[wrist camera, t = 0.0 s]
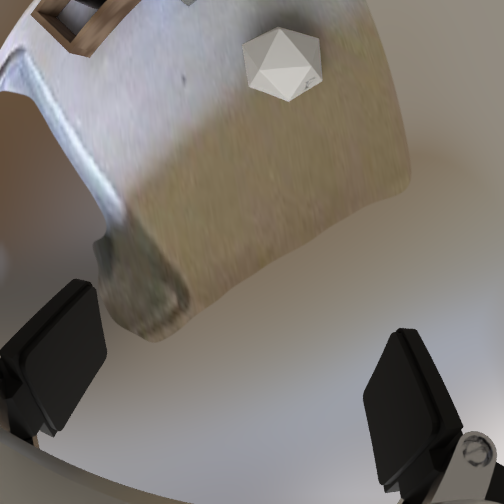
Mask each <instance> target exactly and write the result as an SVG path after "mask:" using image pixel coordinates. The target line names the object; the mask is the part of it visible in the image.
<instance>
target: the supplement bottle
mask: <svg viewBox="0 0 504 504" xmlns="http://www.w3.org/2000/svg"><path fill="white" fill-rule="evenodd" d="M75 1H77V2H79V3H82V4H84V5H86V6H89V7H91V8H94V9H99V8H100V7H101V6H102V5H103V4H104V3H105V2H106V1H107V0H75Z"/></svg>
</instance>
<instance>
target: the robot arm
mask: <svg viewBox="0 0 504 504" xmlns="http://www.w3.org/2000/svg"><path fill="white" fill-rule="evenodd" d="M106 355H107V348H106V344H105V339H104V334H103V328H102V323H101V318H100V312H99V305H98V299H97V292H96V289H95V288H94V287H93V286H92V284H91V283H90V282H88V281H84V280H80V279H73V280H72V281H71V282H70V283H68V284H67V285H66V286H65V287H64V288H63V289H62V290H61V291H60V292H58V293H57V294H56V295H55V296H54V297H53V298H52V299H51V300H50V301H49V302H48V303H47V304H46V305H45V306H44V307H42V308H41V309H40V310H39V311H38V312H37V313H36V314H35V315H34V316H33V317H32V318H31V319H30V320H29V321H28V322H27V323H26V324H25V325H24V326H23V327H22V328H21V329H20V330H19V331H18V332H17V333H16V334H15V335H14V336H13V337H12V338H11V339H10V340H9V341H8V342H7V343H6V344H5V345H4V346H3V347H2V349H1V350H0V356H1V358H0V504H191V503H187V502H182V501H178V500H173V499H169V498H165V497H161V496H158V495H154V494H151V493H147V492H144V491H140V490H137V489H134V488H131V487H128V486H125V485H122V484H119V483H116V482H113V481H110V480H108V479H105V478H102V477H100V476H97V475H95V474H92V473H90V472H87V471H85V470H82V469H80V468H78V467H76V466H73V465H71V464H69V463H67V462H65V461H63V460H60V459H58V458H56V457H54V456H52V455H50V454H48V453H46V452H44V451H42V450H40V448H39V444H38V439H37V433H38V431H39V430H40V431H42V432H44V433H46V434H48V435H50V436H52V437H54V436H55V434H56V433H57V431H61V430H62V429H63V428H64V426H65V424H66V423H67V421H68V419H69V418H70V416H71V414H72V413H73V411H74V409H75V408H76V406H77V404H78V403H79V401H80V399H81V398H82V396H83V395H84V393H85V391H86V389H87V388H88V386H89V385H90V383H91V382H92V380H93V378H94V377H95V375H96V374H97V372H98V370H99V369H100V367H101V366H102V364H103V363H104V361H105V359H106ZM363 402H364V406H365V411H366V416H367V421H368V426H369V431H370V436H371V441H372V446H373V452H374V457H375V463H376V468H377V474H378V480H379V483H380V484H381V485H384V491H385V493H388V492H396V491H400V495H401V499H400V500H399V502H398V503H397V504H504V466H502V465H500V464H499V463H497V462H496V458H497V452H496V448H495V445H494V443H493V442H492V441H491V439H490V438H489V437H488V436H486V435H485V434H483V433H480V432H476V431H471V432H467V433H465V434H464V435H463V433H462V431H461V429H462V428H463V424H462V422H461V420H460V418H459V415H458V413H457V410H456V408H455V406H454V404H453V402H452V399H451V397H450V395H449V393H448V391H447V389H446V386H445V385H444V382H443V380H442V378H441V376H440V374H439V372H438V370H437V368H436V366H435V364H434V362H433V360H432V358H431V356H430V354H429V352H428V350H427V348H426V346H425V345H424V343H423V341H422V339H421V337H420V335H419V334H418V332H417V330H415V329H406V328H405V329H404V328H399V329H398V330H397V331H396V332H393V333H392V334H391V335H390V338H389V340H388V343H387V344H386V347H385V349H384V351H383V353H382V355H381V358H380V360H379V362H378V364H377V366H376V368H375V370H374V372H373V374H372V377H371V378H370V380H369V383H368V385H367V386H366V389H365V390H364V394H363Z"/></svg>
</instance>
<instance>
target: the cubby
mask: <svg viewBox="0 0 504 504" xmlns="http://www.w3.org/2000/svg"><path fill="white" fill-rule="evenodd" d="M69 1H70V0H41V1H40V3H39V4H38V5H37V7H36V8H35V9H34V11H33V12H32V13H31V16H32V17H33V18H34V19H35V20H36V21H37V22H39V23H40V24H41V25H42V26H43V27H44V28H45V29H46V30H47V31H48V32H49V33H50V34H51V35H52V36H53V37H54V38H55V39H56V40H57V41H58V42H59V43H60V44H61V45H62V46H63V47H64V48H65V49H66V50H67V51H68V52H69V53H72V54H76V55H81V56H85V57H89V58H90V57H91V55H92V54H93V53H94V52H95V50H96V49H97V48H98V47H99V46H100V44H101V43H102V42H103V41H104V40H105V38H106V37H107V36H108V35H109V34H110V33H111V32H112V30H113V29H114V28H115V27H116V26H117V25H118V24H119V23H120V22H121V21H122V19H123V18H124V17H125V16H126V15H127V14H128V13H129V12H130V11H131V10H132V9H133V8H134V7H135V6H136V5H137V4H138V3H139V2H140V1H141V0H107V1H106V2H105V3H104V4H103V5H102V6H101V7H100V8H99V9H98V11H97V12H96V13H95V14H94V15H93V16H92V17H91V19H90V20H89V21H88V22H87V23H86V24H85V26H84V27H83V28H82V29H81V31H80V32H79V33H78V34H77V36H76V35H75V34H74V33H73V32H72V31H71V30H70V29H68V28H67V27H66V26H65V25H64V24H63V23H62V22H61V21H60V20H59V19H57V18H56V17H57V16H58V15H59V13H60V12H61V11H62V10H63V8H64V7H65V6H66V5H67V4H68V2H69Z"/></svg>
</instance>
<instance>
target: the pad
mask: <svg viewBox="0 0 504 504" xmlns="http://www.w3.org/2000/svg"><path fill="white" fill-rule="evenodd" d="M181 1H182V2H183V3H185V4H186V5H187V6H190V5H191V4H192V3H193V2H195V1H196V0H181Z"/></svg>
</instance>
